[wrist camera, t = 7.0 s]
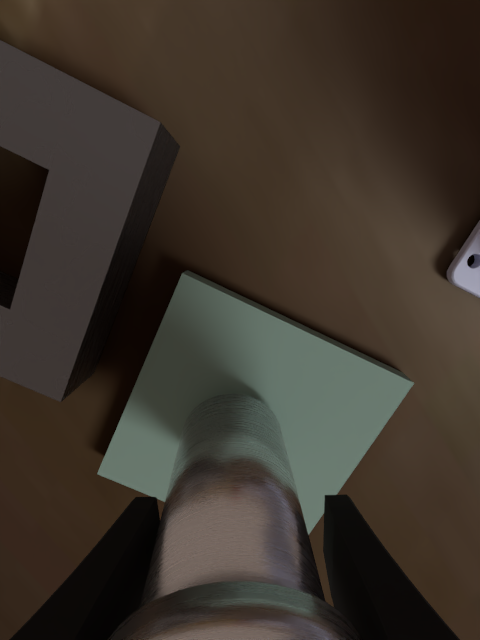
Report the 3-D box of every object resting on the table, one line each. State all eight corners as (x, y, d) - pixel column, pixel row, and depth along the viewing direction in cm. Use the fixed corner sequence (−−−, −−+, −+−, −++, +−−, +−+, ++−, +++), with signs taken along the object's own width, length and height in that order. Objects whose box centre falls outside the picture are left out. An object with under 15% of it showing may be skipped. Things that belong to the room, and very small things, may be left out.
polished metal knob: (159, 388, 12) (27, 683, 4) (290, 375, 12) (403, 644, 4) (179, 494, 13) (107, 864, 5) (296, 482, 13) (389, 833, 6)
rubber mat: (187, 270, 13) (182, 273, 12) (402, 372, 13) (414, 383, 12) (106, 458, 15) (97, 473, 14) (291, 535, 16) (294, 555, 15)
